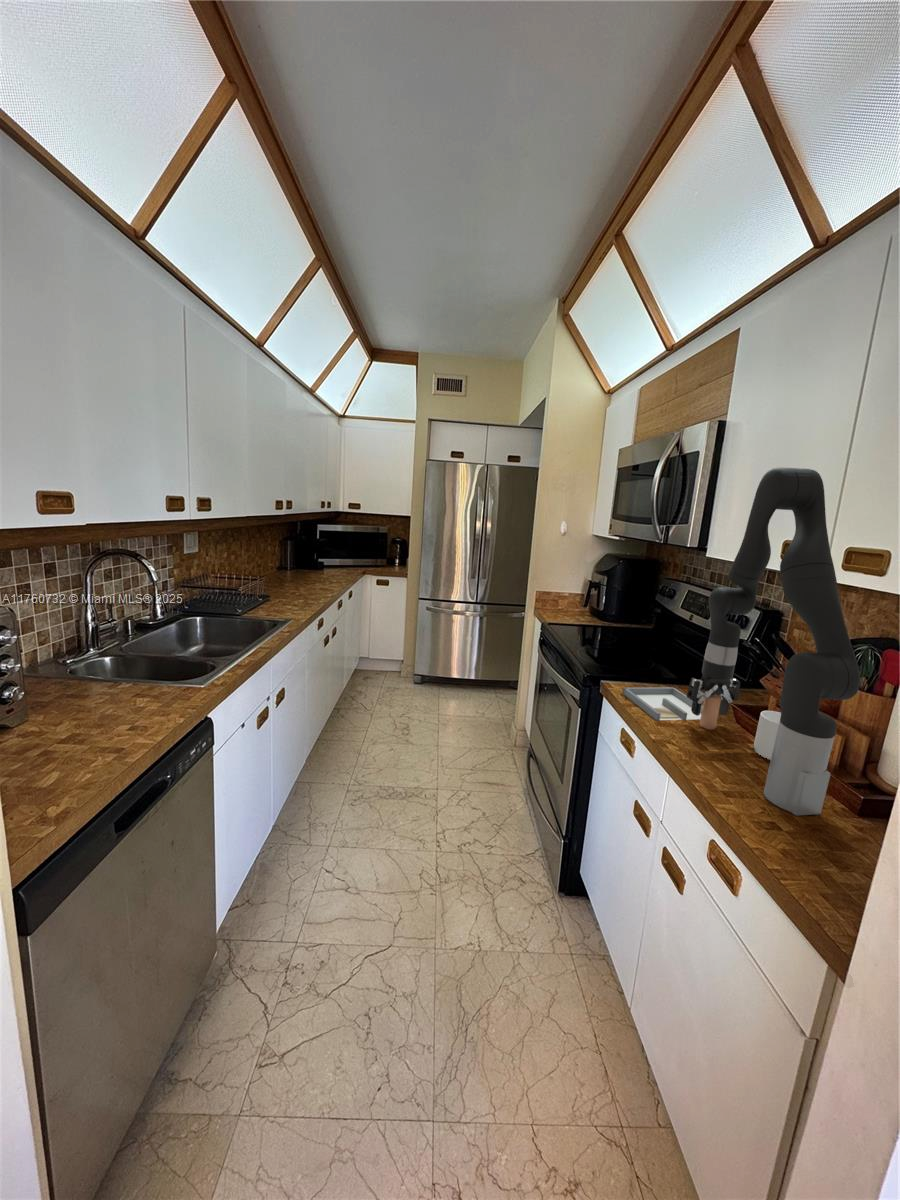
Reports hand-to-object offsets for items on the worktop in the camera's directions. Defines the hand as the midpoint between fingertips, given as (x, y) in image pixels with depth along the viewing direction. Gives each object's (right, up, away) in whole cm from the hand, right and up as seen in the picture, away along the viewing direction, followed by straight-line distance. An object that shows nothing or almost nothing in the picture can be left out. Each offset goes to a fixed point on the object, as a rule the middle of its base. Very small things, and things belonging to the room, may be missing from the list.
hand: (709, 714), depth 131 cm
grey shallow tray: (-7, -1, +13) cm, 15 cm away
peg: (0, -4, +1) cm, 5 cm away
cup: (+11, -7, -9) cm, 16 cm away
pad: (-10, -2, +7) cm, 12 cm away
